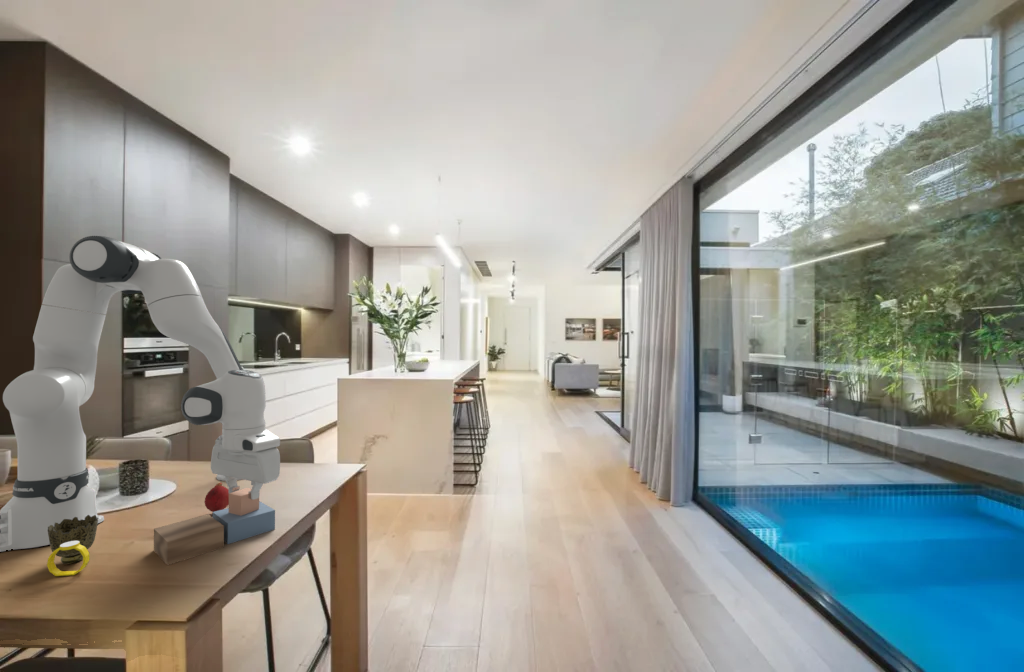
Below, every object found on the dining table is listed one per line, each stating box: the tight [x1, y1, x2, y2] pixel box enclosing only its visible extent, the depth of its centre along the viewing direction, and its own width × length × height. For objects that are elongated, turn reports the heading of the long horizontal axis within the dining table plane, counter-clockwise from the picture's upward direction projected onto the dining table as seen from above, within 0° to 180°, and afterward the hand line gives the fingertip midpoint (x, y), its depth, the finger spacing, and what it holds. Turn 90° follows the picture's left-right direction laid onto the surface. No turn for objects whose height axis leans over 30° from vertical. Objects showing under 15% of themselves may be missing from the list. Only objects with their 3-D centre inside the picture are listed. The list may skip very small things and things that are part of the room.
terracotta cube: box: [228, 487, 260, 516], centre depth 105 cm, size 4×4×4 cm
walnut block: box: [153, 514, 225, 566], centre depth 96 cm, size 10×10×5 cm
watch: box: [46, 541, 90, 577], centre depth 85 cm, size 6×3×6 cm, turn 105°
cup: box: [48, 515, 99, 565], centre depth 91 cm, size 8×7×8 cm
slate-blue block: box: [211, 500, 276, 545], centre depth 105 cm, size 10×10×5 cm
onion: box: [204, 481, 229, 513], centre depth 115 cm, size 6×6×8 cm
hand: (243, 496), depth 105 cm, fingers open, 6 cm apart
